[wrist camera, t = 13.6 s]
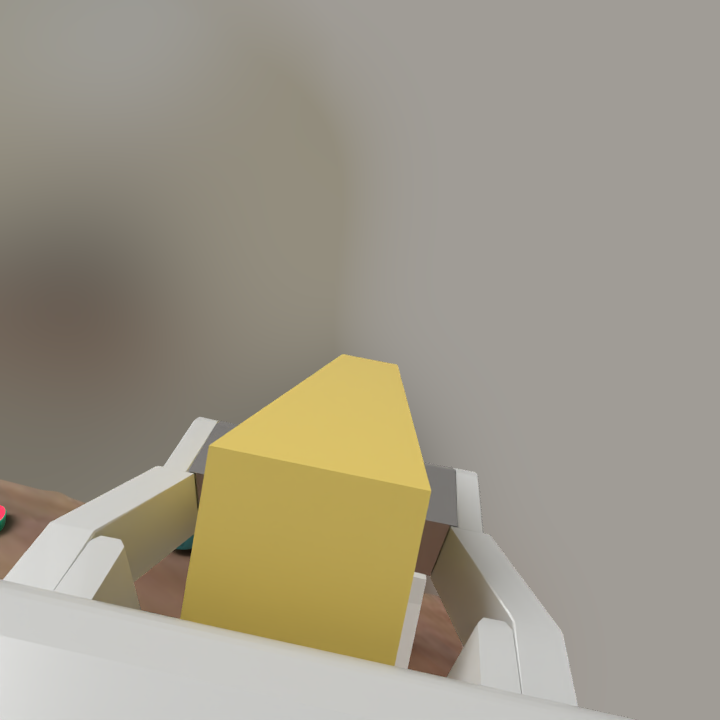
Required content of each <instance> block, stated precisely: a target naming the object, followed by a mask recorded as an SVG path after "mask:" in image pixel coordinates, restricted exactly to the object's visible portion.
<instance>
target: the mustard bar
mask: <svg viewBox="0 0 720 720" xmlns="http://www.w3.org/2000/svg"><path fill="white" fill-rule="evenodd" d="M430 495H431V488H430V484H429V481H428V477H427V473H426V469H425V466H424V462H423V458H422V455H421V451H420V447H419V443H418V440H417V436H416V433H415V428H414V425H413V421H412V417H411V413H410V410H409V406H408V402H407V398H406V395H405V391H404V387H403V384H402V380H401V376H400V372H399V369H398V365H395V364H390V363H385V362H380V361H375V360H370V359H364V358H360V357H354V356H349V355H344V354H342V355H341V356H339V357H338V358H336V359H335V360H333V361H332V362H330V363H329V364H328V365H326V366H325V367H323V368H322V369H320V370H319V371H317V372H316V373H314V374H313V375H312V376H310V377H308V378H307V379H306V380H304V381H303V382H301V383H300V384H298V385H297V386H295V387H294V388H293V389H291V390H289V391H288V392H287V393H285V394H284V395H282V396H281V397H279V398H278V399H276V400H275V401H273V402H272V403H270V404H269V405H268V406H266V407H265V408H263V409H262V410H260V411H259V412H257V413H256V414H254V415H253V416H251V417H250V418H248V419H247V420H245V421H244V422H243V423H241V424H240V425H238V426H237V427H235V428H234V429H232V430H231V431H229V432H228V433H226V434H225V435H223V436H222V437H221V438H219V439H218V440H216V441H215V442H213V443H212V444H210V445H209V448H208V454H207V460H206V467H205V473H204V479H203V485H202V491H201V497H200V503H199V509H198V515H197V521H196V527H195V533H194V539H193V545H192V551H191V557H190V563H189V569H188V575H187V581H186V587H185V593H184V600H183V606H182V612H181V618H180V619H183V620H187V621H192V622H196V623H201V624H205V625H210V626H214V627H219V628H224V629H228V630H233V631H237V632H242V633H246V634H251V635H256V636H260V637H265V638H269V639H274V640H278V641H283V642H287V643H292V644H296V645H301V646H305V647H310V648H314V649H319V650H324V651H328V652H333V653H337V654H342V655H346V656H351V657H355V658H360V659H364V660H369V661H373V662H378V663H383V664H387V665H392V666H395V662H396V657H397V652H398V647H399V643H400V638H401V633H402V628H403V623H404V619H405V614H406V609H407V604H408V600H409V595H410V590H411V585H412V581H413V576H414V571H415V566H416V562H417V557H418V552H419V547H420V543H421V538H422V533H423V528H424V524H425V519H426V514H427V509H428V505H429V500H430Z"/></svg>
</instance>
